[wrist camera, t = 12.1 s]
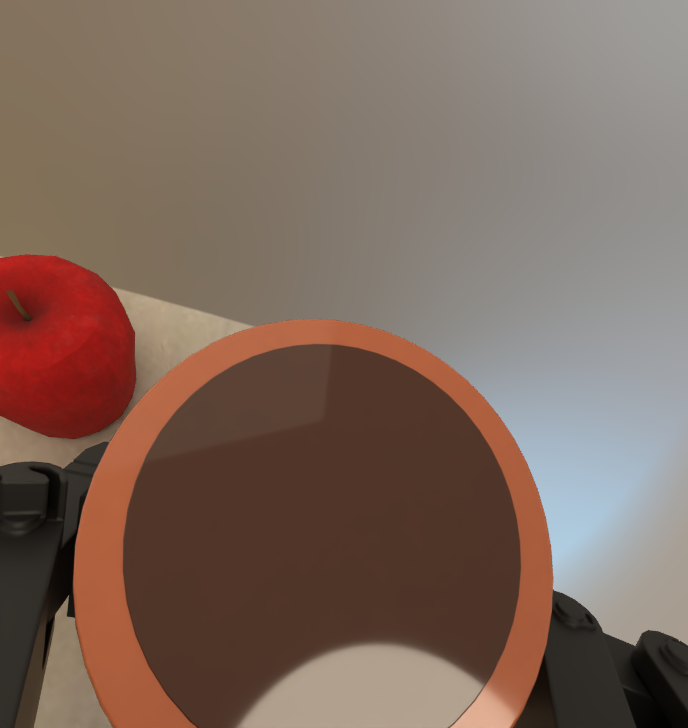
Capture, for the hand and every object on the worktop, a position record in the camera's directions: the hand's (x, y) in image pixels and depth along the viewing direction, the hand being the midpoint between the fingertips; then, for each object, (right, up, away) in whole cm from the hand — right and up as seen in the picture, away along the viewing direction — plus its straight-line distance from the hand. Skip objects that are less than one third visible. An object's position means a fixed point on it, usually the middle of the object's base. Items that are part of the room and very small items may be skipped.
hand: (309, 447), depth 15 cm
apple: (-20, 0, +20) cm, 28 cm away
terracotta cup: (-1, -4, 0) cm, 4 cm away
